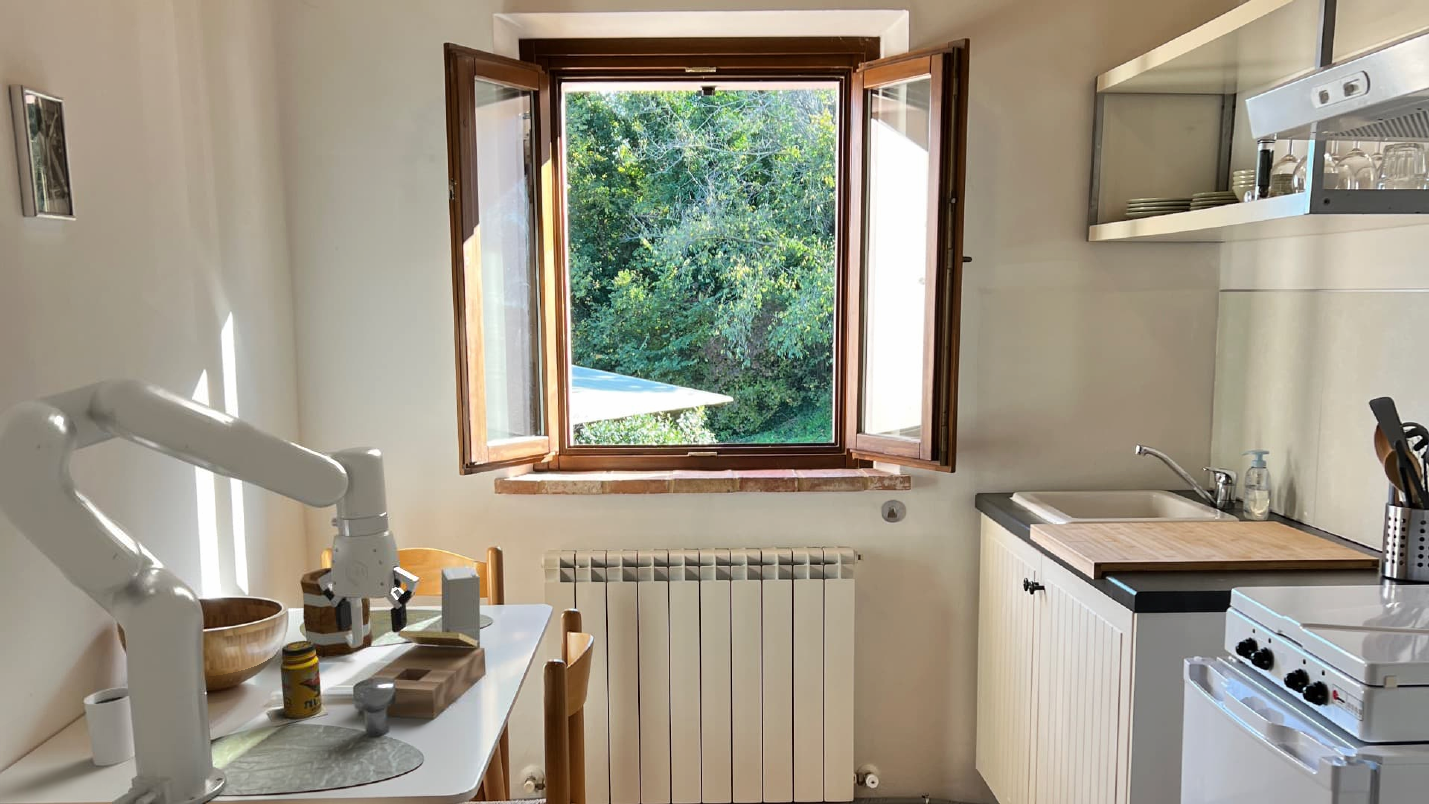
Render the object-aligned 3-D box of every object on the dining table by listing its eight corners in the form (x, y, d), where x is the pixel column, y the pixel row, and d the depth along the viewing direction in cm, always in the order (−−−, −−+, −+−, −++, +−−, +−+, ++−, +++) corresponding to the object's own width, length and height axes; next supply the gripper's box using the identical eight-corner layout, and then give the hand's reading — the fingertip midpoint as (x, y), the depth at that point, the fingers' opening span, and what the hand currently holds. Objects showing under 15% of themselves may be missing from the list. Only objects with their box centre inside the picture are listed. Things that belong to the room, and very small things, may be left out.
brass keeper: (458, 638, 175) (459, 631, 175) (397, 636, 177) (398, 629, 178) (479, 647, 183) (480, 641, 183) (420, 645, 185) (421, 638, 186)
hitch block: (434, 718, 164) (432, 690, 163) (358, 714, 167) (356, 686, 166) (485, 673, 183) (484, 648, 183) (417, 670, 186) (415, 644, 186)
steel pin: (384, 742, 156) (381, 693, 155) (348, 739, 157) (344, 691, 156) (405, 724, 162) (402, 678, 161) (370, 722, 163) (366, 676, 162)
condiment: (328, 714, 167) (323, 646, 166) (274, 727, 162) (269, 657, 161) (319, 700, 173) (314, 635, 172) (267, 712, 169) (261, 645, 167)
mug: (296, 645, 203) (290, 574, 201) (361, 630, 211) (356, 562, 209) (326, 671, 187) (320, 595, 186) (395, 653, 196) (390, 580, 194)
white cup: (119, 745, 158) (113, 685, 156) (149, 750, 155) (143, 690, 154) (79, 763, 151) (73, 701, 150) (110, 770, 149) (103, 706, 148)
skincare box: (441, 644, 200) (436, 568, 199) (476, 638, 203) (472, 563, 202) (448, 657, 193) (443, 578, 191) (484, 650, 196) (480, 573, 194)
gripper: (300, 530, 154) (310, 635, 156) (400, 531, 150) (409, 638, 152) (328, 519, 161) (337, 619, 163) (424, 520, 158) (432, 622, 160)
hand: (372, 628), depth 158 cm, fingers open, 9 cm apart
